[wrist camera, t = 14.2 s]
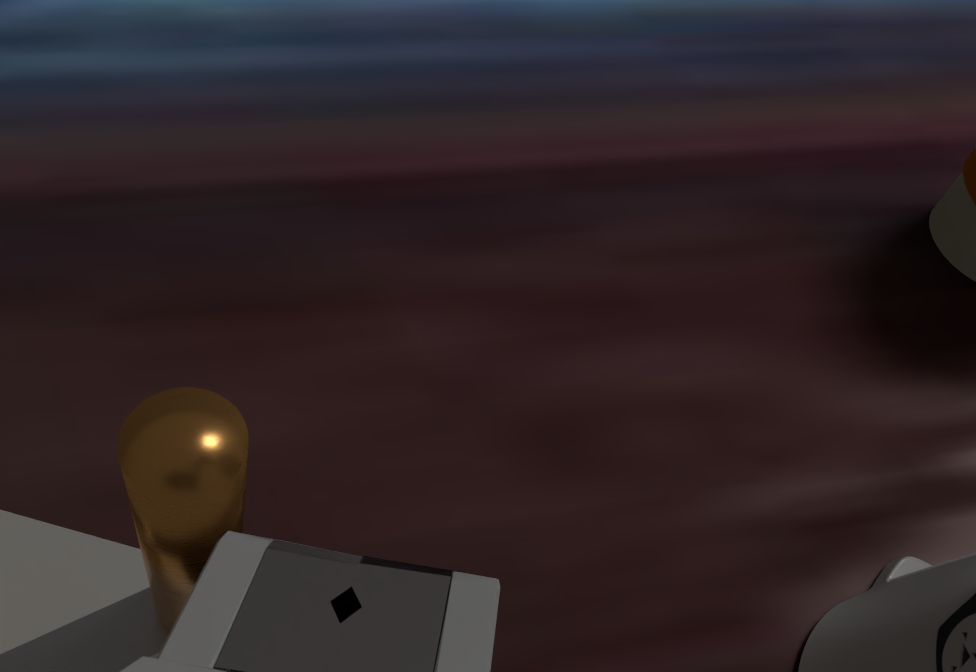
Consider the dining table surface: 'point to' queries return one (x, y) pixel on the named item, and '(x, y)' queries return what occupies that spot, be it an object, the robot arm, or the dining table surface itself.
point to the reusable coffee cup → (958, 221)
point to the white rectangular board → (58, 577)
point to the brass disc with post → (158, 528)
